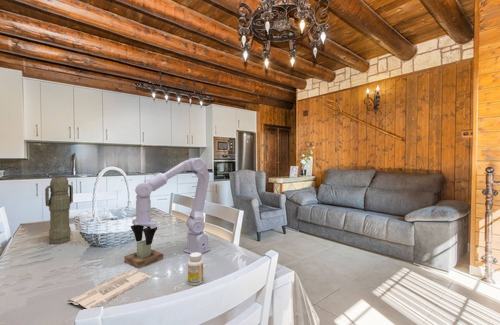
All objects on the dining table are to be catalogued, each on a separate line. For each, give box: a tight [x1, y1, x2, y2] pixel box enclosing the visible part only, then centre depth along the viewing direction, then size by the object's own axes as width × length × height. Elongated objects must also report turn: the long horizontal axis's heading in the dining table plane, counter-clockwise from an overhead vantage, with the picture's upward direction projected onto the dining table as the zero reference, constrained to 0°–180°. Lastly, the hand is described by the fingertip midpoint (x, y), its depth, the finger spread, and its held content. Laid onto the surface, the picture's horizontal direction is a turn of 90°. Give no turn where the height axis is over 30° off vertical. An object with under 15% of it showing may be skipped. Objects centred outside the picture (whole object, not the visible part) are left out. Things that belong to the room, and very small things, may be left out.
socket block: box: [124, 248, 164, 270], centre depth 102 cm, size 11×11×2 cm
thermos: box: [44, 175, 74, 245], centre depth 127 cm, size 9×12×35 cm
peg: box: [136, 240, 152, 259], centre depth 102 cm, size 4×4×8 cm
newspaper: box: [67, 269, 152, 310], centre depth 79 cm, size 23×12×2 cm, turn 155°
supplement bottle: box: [187, 252, 204, 286], centre depth 83 cm, size 5×5×10 cm
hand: (143, 242), depth 102 cm, fingers open, 7 cm apart
